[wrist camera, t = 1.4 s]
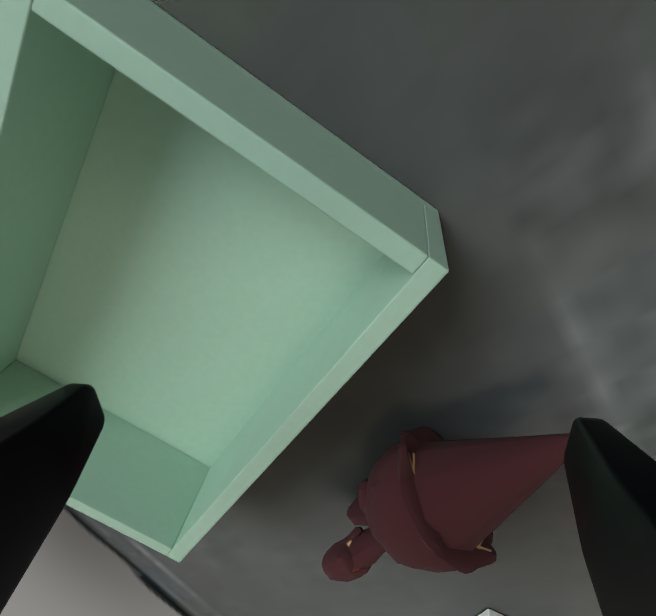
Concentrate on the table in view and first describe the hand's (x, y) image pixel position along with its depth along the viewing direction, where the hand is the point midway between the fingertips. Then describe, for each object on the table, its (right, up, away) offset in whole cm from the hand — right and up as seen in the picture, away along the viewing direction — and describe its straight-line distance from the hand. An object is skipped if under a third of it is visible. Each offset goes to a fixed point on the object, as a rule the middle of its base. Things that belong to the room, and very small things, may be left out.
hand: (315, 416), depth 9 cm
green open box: (-7, +3, +15) cm, 17 cm away
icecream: (+6, -6, +18) cm, 20 cm away
